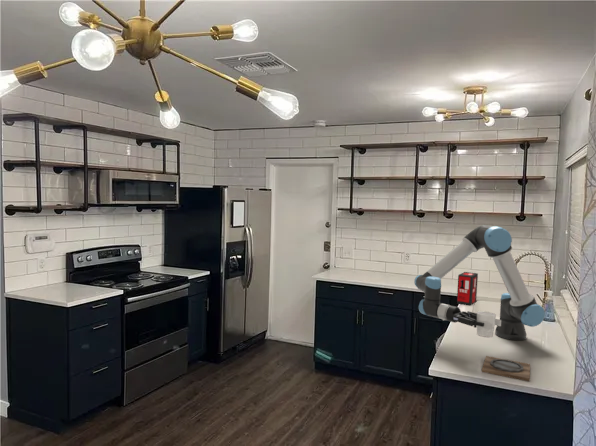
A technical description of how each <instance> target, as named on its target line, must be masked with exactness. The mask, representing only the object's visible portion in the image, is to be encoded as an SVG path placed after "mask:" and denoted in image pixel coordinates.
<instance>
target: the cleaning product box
mask: <svg viewBox="0 0 596 446" xmlns="http://www.w3.org/2000/svg"><path fill="white" fill-rule="evenodd" d="M478 275H479V273H476V272H468V271H464V272H461V273H460V274H458V277H457V291H456V292H457V294H456V305H457V304H458V305H463V306H469V307H471V306H472V305H474V304H475V303H476V302H477V295H478V279H479V276H478Z"/></svg>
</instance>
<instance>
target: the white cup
mask: <svg viewBox="0 0 596 446" xmlns="http://www.w3.org/2000/svg"><path fill="white" fill-rule="evenodd" d="M476 313H477V320H481V321H485V322H489V323H493V324H492V330H490V329H487V328H483V327H479V326H476V335H477V336H479V337H482V338H493V337H494V333H495V332H494V331H495V326H496V325H495V319H496V316H497V314H495V313H494V312H491V311H486V310H485V311H483V310H480V311H479V310H478V311H477V312H476Z"/></svg>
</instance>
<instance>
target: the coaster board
mask: <svg viewBox="0 0 596 446" xmlns="http://www.w3.org/2000/svg"><path fill="white" fill-rule="evenodd" d="M481 372H482V373H486V374H492V375H497V376H502V377H506V378H510V379H516V380H520V381H525V382H526V381H527V382H530V381H531V380H530V377H531V376H530V374H531V363H526V362H521V361H517V360H511V359H507V358H505V359H504V358H501V357H500V358H499V357H495V356H489V355H486V356H485V358H484V362H483V365H482V369H481Z"/></svg>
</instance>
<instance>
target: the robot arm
mask: <svg viewBox="0 0 596 446" xmlns="http://www.w3.org/2000/svg"><path fill="white" fill-rule="evenodd" d="M512 241H513V239H512V235H511V233H510V232H509V231H508V230H507V229H506V228H503V227H502V226H497V225H494V226H493V225H490V224H483V225H479V226H476V227H475V228H474V229H473V230H471V231H470V232H469V233H468V234H466V235H465V236H464V237H463V238H462V241H461V242H460V243H458V245H456V246H455V247H454V248H453V249H452V250H450V251H449V252H448V253H447V254H446V255H444V256H443V257H442V258H441V259H440V260H438V262H436V263H435V264H433V266H432V267H430V268H428V270H427V271H426V272H424V273H423V274H419V275H417V276H416V277H415V278H414V285H415V287H416V288H417V289H418V290H420V291H422V292H423V293H424V298H423V299H421V300H420V301H419V304H418V310H419V313H421V314H423V315H425V316H428V317H433V318H436V319H441V320H442V321H448V322H451V323H460V324H464V325H467V326H468V327H473V328H475V329H477V326H479V327H483V328H487V329H490V330H492V324H493V323H489V322H485V321H481V320H477V312H473V311H470V310H469V311H467V312H466V311H461V309H460V307H458V306H455V305H450V304H446V303H443V302H441V293H442V279H443V278H444V277H445V276H446V275H447V274H449V273H450V272H451V271H452V270H453V269H455V268H456V267H457V266H458V265H460V263H461V262H463V261H464V260H465V259H467V257H469V256H470V255H471V254H472V253H477V252H478V251H479V250H480V249H485V252H486V255H487V256H488V257H489V258H491V259H493V261H494V262H493V263H494V264H495V266H496V269H497V271H498V272H499V275H500V277H501V280H502V282H503V283H504V287H505V288H506V291H507V292H505V293H504V292H503V293H502V294H501V296H500V309H499V319H498V318H495V326H496V328H495V329H494V331H495V332H494V334H495V336H497V337H499V338H501V339H505V340H511V341H524V340H525V341H526V339H527V331H526V328H525V326H527V327H532V328H534V327H537V326H540V325H541V324H542V323H543V321H544V320H545V316H546V312H545V309H544V307H543V306H542V305H540V304H539V303H537V301H536V298H535V296H534V294H531V293H529V291H528V289H527V286H526V284H525V281H524V280H523V278H522V275H521V272H520V271H519V269H518V266H517V263H516V262H515V259H514V258H513V255H512V253H511V252H512V249H513V247H512Z"/></svg>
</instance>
